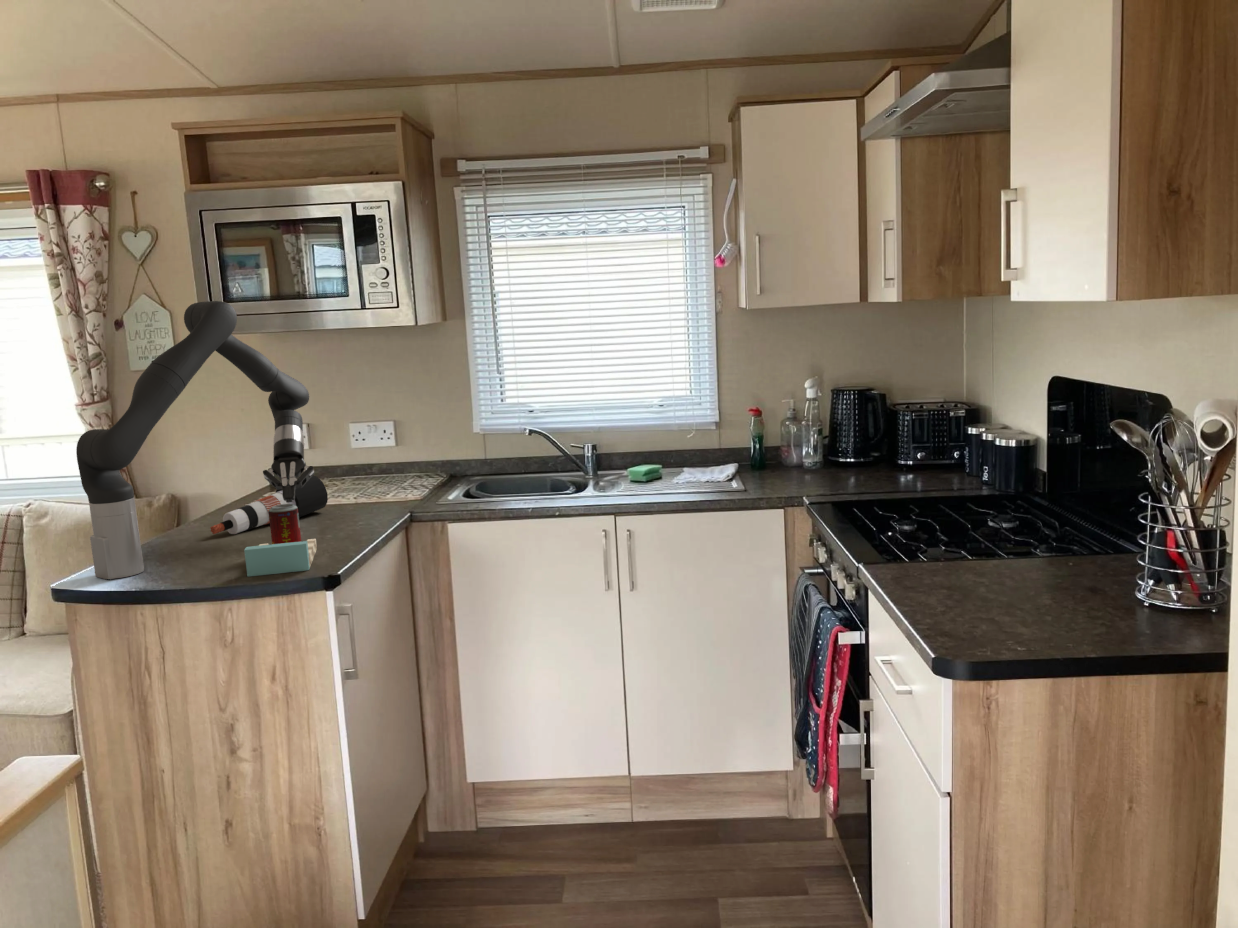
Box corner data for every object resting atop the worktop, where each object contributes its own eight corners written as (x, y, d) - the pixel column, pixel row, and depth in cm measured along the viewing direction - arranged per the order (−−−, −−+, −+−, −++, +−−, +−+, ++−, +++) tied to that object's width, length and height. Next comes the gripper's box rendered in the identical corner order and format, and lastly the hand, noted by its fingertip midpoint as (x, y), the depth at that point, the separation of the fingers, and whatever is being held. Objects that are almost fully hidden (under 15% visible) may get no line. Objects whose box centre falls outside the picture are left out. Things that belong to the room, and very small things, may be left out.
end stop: (249, 573, 220) (246, 546, 219) (310, 566, 223) (307, 540, 222) (247, 576, 217) (244, 549, 216) (308, 570, 220) (306, 543, 219)
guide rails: (260, 554, 237) (259, 544, 237) (316, 548, 240) (315, 538, 240) (248, 574, 219) (247, 563, 219) (309, 567, 222) (308, 557, 221)
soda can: (297, 548, 241) (292, 501, 240) (306, 553, 236) (301, 505, 234) (269, 553, 238) (264, 506, 236) (278, 558, 232) (272, 510, 230)
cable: (213, 554, 261) (195, 520, 261) (315, 514, 288) (298, 483, 288) (230, 540, 255) (212, 505, 255) (332, 500, 282) (316, 469, 282)
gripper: (259, 439, 254) (258, 494, 244) (313, 435, 257) (314, 489, 247) (264, 457, 260) (263, 511, 250) (316, 452, 262) (318, 506, 253)
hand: (288, 500), depth 248 cm, fingers closed
